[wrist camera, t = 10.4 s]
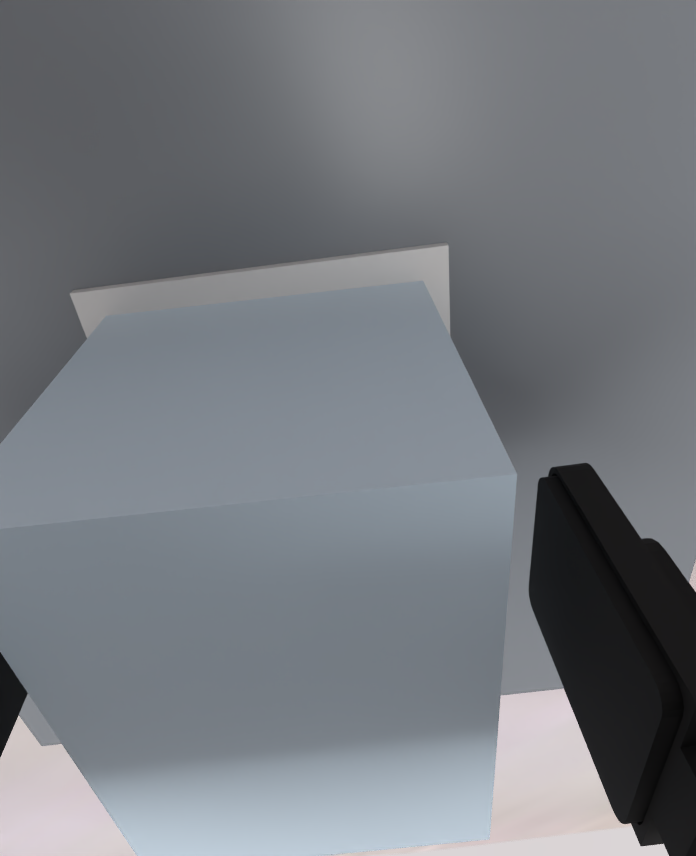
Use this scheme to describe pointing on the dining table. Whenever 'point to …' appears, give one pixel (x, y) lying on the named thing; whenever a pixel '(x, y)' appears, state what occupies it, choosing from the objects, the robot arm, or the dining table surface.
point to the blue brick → (265, 574)
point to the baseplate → (380, 209)
